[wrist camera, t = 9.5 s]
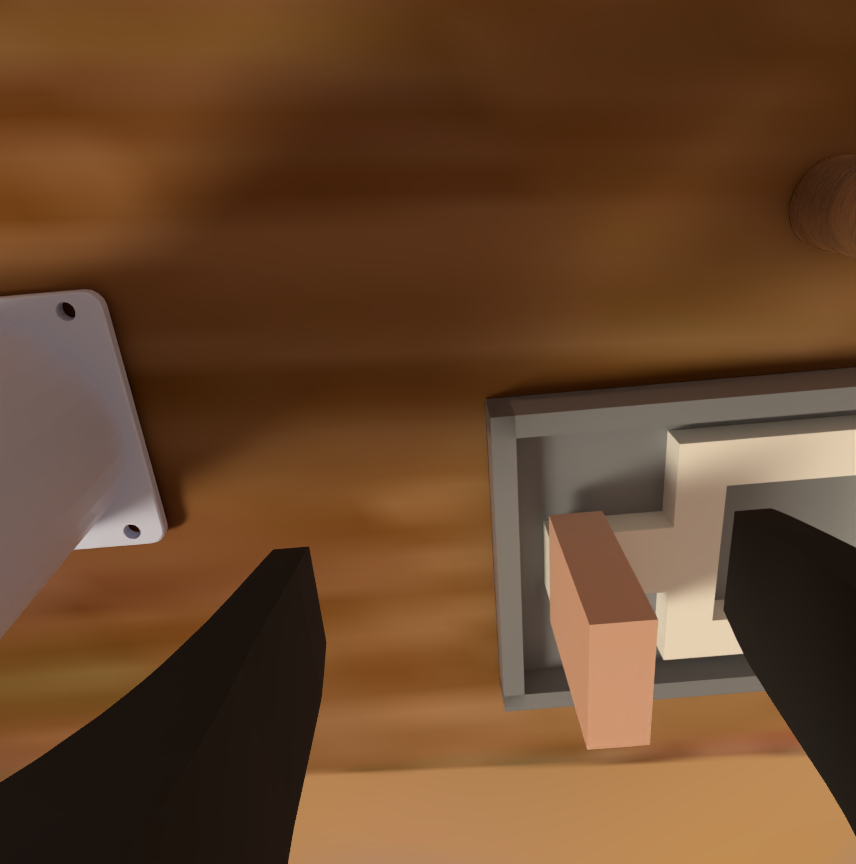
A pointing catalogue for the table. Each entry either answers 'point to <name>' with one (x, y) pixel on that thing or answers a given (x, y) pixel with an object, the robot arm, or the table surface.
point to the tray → (633, 502)
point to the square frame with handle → (666, 566)
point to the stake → (827, 206)
